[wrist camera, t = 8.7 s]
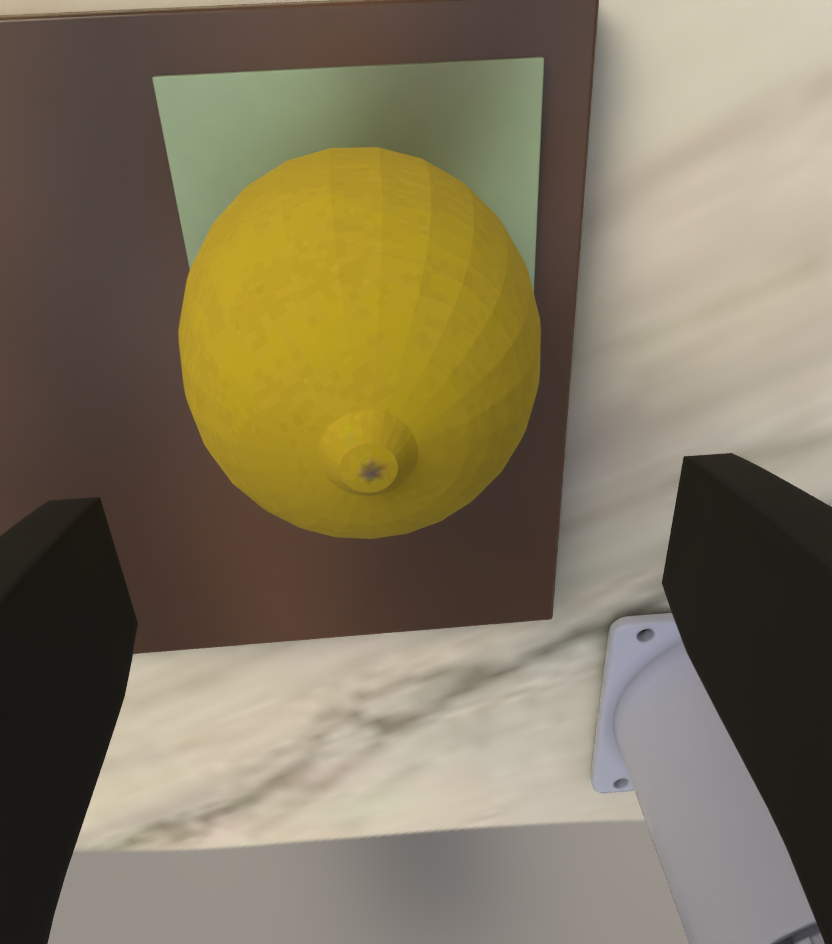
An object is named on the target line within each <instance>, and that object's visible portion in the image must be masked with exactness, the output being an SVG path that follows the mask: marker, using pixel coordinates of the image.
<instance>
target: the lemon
mask: <svg viewBox="0 0 832 944" xmlns="http://www.w3.org/2000/svg"><path fill="white" fill-rule="evenodd" d="M178 334H179V349H180V358H181V367H182V376H183V385H184V390H185V396H186V399H187V402H188V405H189V407H190V410H191V412H192V415H193V418H194V420H195V423H196V425H197V428H198V430H199V433H200V435H201V438H202V440H203V443H204V445H205V446H206V448H207V449H208V451H209V452H210V454H211V455H212V456H213V458H214V459H215V461H216V462H217V463H218V465H219V466H220V467H221V469H222V470H223V471H224V473H225V474H226V475H227V477H228V478H229V479H230V481H231V482H232V483H233V484H234V485H235V486H236V487H238V488H239V489H240V490H241V491H242V492H244V493H245V494H246V495H247V496H248V497H250V498H251V499H252V500H253V501H255V502H256V503H257V504H258V505H259V506H261V507H262V508H263V509H265V510H266V511H268V512H269V513H271V514H273V515H275V516H277V517H279V518H281V519H283V520H285V521H287V522H289V523H291V524H293V525H295V526H297V527H299V528H302V529H305V530H309V531H313V532H317V533H321V534H325V535H328V536H332V537H340V538H361V539H375V538H382V537H388V536H395V535H402V534H408V533H410V532H413V531H416V530H418V529H421V528H424V527H427V526H429V525H432V524H435V523H438V522H440V521H442V520H443V519H445V518H447V517H448V516H450V515H451V514H453V513H454V512H456V511H458V510H459V509H461V508H462V507H464V506H465V505H467V504H469V503H470V502H471V501H472V500H474V499H475V498H476V497H477V496H478V495H479V494H480V493H481V492H482V491H483V490H484V489H485V488H486V487H487V486H488V485H489V484H490V483H491V482H492V481H493V480H494V479H495V478H496V477H497V476H498V475H499V474H500V473H501V472H502V470H503V469H504V467H505V466H506V464H507V462H508V461H509V459H510V457H511V456H512V454H513V452H514V451H515V449H516V447H517V446H518V444H519V442H520V441H521V439H522V437H523V435H524V433H525V431H526V428H527V425H528V421H529V418H530V414H531V411H532V408H533V404H534V401H535V397H536V394H537V390H538V385H539V377H540V343H541V326H540V317H539V313H538V309H537V305H536V301H535V297H534V293H533V289H532V285H531V281H530V277H529V273H528V269H527V266H526V264H525V262H524V260H523V258H522V256H521V254H520V253H519V251H518V249H517V247H516V246H515V244H514V242H513V241H512V239H511V237H510V235H509V234H508V232H507V230H506V228H505V227H504V225H503V223H502V222H501V220H500V219H499V218H498V216H497V215H496V214H495V213H494V212H493V211H492V210H491V209H490V208H489V207H488V206H487V205H486V204H485V203H484V202H483V201H482V200H481V199H480V198H479V197H478V196H477V195H476V194H475V193H474V192H473V191H472V190H471V189H470V188H469V187H468V186H467V185H466V184H465V183H463V182H462V181H460V180H459V179H457V178H455V177H453V176H452V175H450V174H448V173H446V172H445V171H443V170H441V169H439V168H438V167H436V166H434V165H432V164H431V163H429V162H427V161H425V160H424V159H422V158H418V157H414V156H410V155H406V154H402V153H399V152H395V151H391V150H387V149H383V148H379V147H357V148H329V149H326V150H322V151H319V152H315V153H312V154H309V155H305V156H302V157H298V158H295V159H291V160H288V161H286V162H284V163H283V164H281V165H279V166H278V167H276V168H275V169H273V170H271V171H270V172H268V173H267V174H265V175H264V176H262V177H260V178H259V179H257V180H256V181H254V182H252V183H251V184H249V185H248V186H247V187H246V188H244V189H243V191H242V192H241V193H240V194H239V195H238V196H237V197H236V198H235V199H234V201H233V202H232V203H231V204H230V205H229V206H228V207H227V208H226V210H225V211H224V212H223V213H222V214H221V215H220V216H219V217H218V218H217V220H216V221H215V222H214V223H213V225H212V226H211V228H210V230H209V232H208V234H207V236H206V238H205V240H204V242H203V244H202V246H201V248H200V250H199V252H198V254H197V256H196V258H195V260H194V262H193V264H192V266H191V268H190V271H189V274H188V277H187V282H186V287H185V293H184V299H183V305H182V311H181V317H180V323H179V330H178Z"/></svg>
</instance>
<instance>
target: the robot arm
mask: <svg viewBox="0 0 832 944" xmlns="http://www.w3.org/2000/svg"><path fill="white" fill-rule="evenodd" d="M662 585H663V588H664V591H665V594H666V597H667V600H668V603H669V606H670V609H671V611H672V613H662V614H650V615H638V616H626V617H622V618H619V619H618V620H616V621H614V623H613V624H612V625H611V626H610V629H609V634H608V642H607V649H606V657H605V665H604V673H603V680H602V688H601V696H600V704H599V711H598V719H597V727H596V735H595V742H594V750H593V758H592V766H591V774H590V780H591V784H592V787H593V789H594V790H595V791H597V792H600V793H612V792H623V791H634V790H635V793H636V796H637V799H638V801H639V804H640V807H641V810H642V813H643V815H644V818H645V821H646V824H647V826H648V829H649V832H650V835H651V838H652V841H653V843H654V846H655V849H656V852H657V854H658V857H659V860H660V863H661V866H662V869H663V871H664V874H665V877H666V880H667V883H668V885H669V888H670V891H671V894H672V896H673V899H674V902H675V905H676V908H677V911H678V913H679V916H680V919H681V922H682V925H683V928H684V930H685V933H686V936H687V939H688V942H689V944H832V507H831V506H829V505H827V504H825V503H823V502H822V501H820V500H818V499H816V498H815V497H813V496H811V495H809V494H808V493H806V492H804V491H802V490H801V489H799V488H797V487H795V486H794V485H792V484H790V483H788V482H787V481H785V480H783V479H781V478H779V477H778V476H776V475H774V474H772V473H770V472H769V471H767V470H765V469H763V468H761V467H759V466H757V465H755V464H753V463H751V462H749V461H747V460H745V459H743V458H741V457H739V456H737V455H735V454H732V453H727V454H713V455H698V456H684V458H683V464H682V470H681V475H680V481H679V487H678V493H677V498H676V504H675V510H674V516H673V522H672V527H671V533H670V539H669V545H668V550H667V556H666V562H665V568H664V574H663V579H662ZM137 626H138V621H137V618H136V615H135V611H134V608H133V605H132V601H131V598H130V595H129V591H128V588H127V585H126V581H125V578H124V575H123V571H122V568H121V565H120V562H119V558H118V555H117V552H116V548H115V545H114V542H113V538H112V535H111V532H110V528H109V525H108V522H107V518H106V515H105V512H104V508H103V505H102V502H101V498H100V497H92V498H77V499H63V500H49V501H48V502H46V503H45V504H43V505H42V506H40V507H38V508H37V509H35V510H34V511H33V512H31V513H30V514H29V515H27V516H26V517H24V518H23V519H22V520H20V521H19V522H18V523H16V524H15V525H14V526H13V527H11V528H10V529H9V530H7V531H6V532H5V533H4V534H2V535H1V536H0V944H47V943H48V939H49V934H50V930H51V926H52V921H53V917H54V913H55V909H56V906H57V903H58V899H59V896H60V892H61V889H62V885H63V882H64V879H65V875H66V872H67V869H68V866H69V863H70V860H71V857H72V854H73V851H74V848H75V845H76V842H77V839H78V836H79V833H80V830H81V827H82V824H83V821H84V818H85V815H86V812H87V809H88V806H89V803H90V800H91V797H92V794H93V791H94V788H95V785H96V782H97V779H98V776H99V773H100V770H101V767H102V764H103V762H104V759H105V756H106V752H107V749H108V746H109V743H110V740H111V737H112V734H113V731H114V728H115V725H116V722H117V719H118V716H119V713H120V709H121V706H122V703H123V700H124V697H125V692H126V687H127V682H128V677H129V672H130V667H131V662H132V656H133V650H134V644H135V638H136V632H137ZM644 629H647V630H646V631H645V632H641V633H639V632H640V631H642V630H644Z"/></svg>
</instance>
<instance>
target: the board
mask: <svg viewBox="0 0 832 944" xmlns="http://www.w3.org/2000/svg"><path fill="white" fill-rule="evenodd" d="M598 7H599V0H328V1H306V2H285V3H263V4H241V5H219V6H198V7H176V8H154V9H132V10H111V11H89V12H67V13H46V14H24V15H2V16H0V536H1V535H2V534H4V533H5V532H6V531H7V530H9V529H10V528H11V527H13V526H14V525H15V524H16V523H18V522H19V521H20V520H22V519H23V518H24V517H26V516H27V515H29V514H30V513H31V512H33V511H34V510H35V509H37V508H38V507H40V506H42V505H43V504H45V503H46V502H48V501H49V500H63V499H77V498H92V497H100V498H101V502H102V505H103V508H104V512H105V515H106V518H107V522H108V525H109V528H110V532H111V535H112V538H113V542H114V545H115V548H116V552H117V555H118V558H119V562H120V565H121V568H122V571H123V575H124V578H125V581H126V585H127V588H128V591H129V595H130V598H131V601H132V605H133V608H134V611H135V615H136V618H137V621H138V626H137V632H136V638H135V644H134V650H133V654H139V653H151V652H163V651H175V650H187V649H199V648H211V647H224V646H236V645H248V644H260V643H272V642H284V641H296V640H308V639H320V638H332V637H344V636H356V635H368V634H380V633H392V632H404V631H416V630H428V629H440V628H452V627H465V626H477V625H489V624H501V623H513V622H525V621H537V620H549V619H552V616H553V604H554V591H555V577H556V564H557V551H558V538H559V524H560V511H561V498H562V485H563V471H564V458H565V445H566V431H567V418H568V405H569V392H570V378H571V365H572V352H573V338H574V325H575V312H576V299H577V285H578V272H579V259H580V246H581V232H582V219H583V206H584V192H585V179H586V166H587V153H588V139H589V126H590V113H591V100H592V86H593V73H594V60H595V46H596V33H597V20H598ZM357 147H379V148H383V149H387V150H391V151H395V152H399V153H402V154H406V155H410V156H414V157H418V158H422V159H424V160H425V161H427V162H429V163H431V164H432V165H434V166H436V167H438V168H439V169H441V170H443V171H445V172H446V173H448V174H450V175H452V176H453V177H455V178H457V179H459V180H460V181H462V182H463V183H465V184H466V185H467V186H468V187H469V188H470V189H471V190H472V191H473V192H474V193H475V194H476V195H477V196H478V197H479V198H480V199H481V200H482V201H483V202H484V203H485V204H486V205H487V206H488V207H489V208H490V209H491V210H492V211H493V212H494V213H495V214H496V215H497V216H498V218H499V219H500V220H501V222H502V223H503V225H504V227H505V228H506V230H507V232H508V234H509V235H510V237H511V239H512V241H513V242H514V244H515V246H516V247H517V249H518V251H519V253H520V254H521V256H522V258H523V260H524V262H525V264H526V266H527V269H528V273H529V277H530V281H531V285H532V289H533V293H534V297H535V301H536V305H537V309H538V313H539V317H540V326H541V343H540V377H539V385H538V390H537V394H536V397H535V401H534V404H533V408H532V411H531V414H530V418H529V421H528V425H527V428H526V431H525V433H524V435H523V437H522V439H521V441H520V442H519V444H518V446H517V447H516V449H515V451H514V452H513V454H512V456H511V457H510V459H509V461H508V462H507V464H506V466H505V467H504V469H503V470H502V472H501V473H500V474H499V475H498V476H497V477H496V478H495V479H494V480H493V481H492V482H491V483H490V484H489V485H488V486H487V487H486V488H485V489H484V490H483V491H482V492H481V493H480V494H479V495H478V496H477V497H476V498H475V499H474V500H472V501H471V502H470V503H469V504H467V505H465V506H464V507H462V508H461V509H459V510H458V511H456V512H454V513H453V514H451V515H450V516H448V517H447V518H445V519H443V520H442V521H440V522H438V523H435V524H432V525H429V526H427V527H424V528H421V529H418V530H416V531H413V532H410V533H408V534H402V535H395V536H388V537H382V538H375V539H361V538H340V537H332V536H328V535H325V534H321V533H317V532H313V531H309V530H305V529H302V528H299V527H297V526H295V525H293V524H291V523H289V522H287V521H285V520H283V519H281V518H279V517H277V516H275V515H273V514H271V513H269V512H268V511H266V510H265V509H263V508H262V507H261V506H259V505H258V504H257V503H256V502H255V501H253V500H252V499H251V498H250V497H248V496H247V495H246V494H245V493H244V492H242V491H241V490H240V489H239V488H238V487H236V486H235V485H234V484H233V483H232V482H231V481H230V479H229V478H228V477H227V475H226V474H225V473H224V471H223V470H222V469H221V467H220V466H219V465H218V463H217V462H216V461H215V459H214V458H213V456H212V455H211V454H210V452H209V451H208V449H207V448H206V446H205V445H204V443H203V440H202V438H201V435H200V433H199V430H198V428H197V425H196V423H195V420H194V418H193V415H192V412H191V410H190V407H189V405H188V402H187V399H186V396H185V390H184V385H183V376H182V367H181V358H180V349H179V334H178V330H179V323H180V317H181V311H182V305H183V299H184V293H185V287H186V282H187V277H188V274H189V271H190V268H191V266H192V264H193V262H194V260H195V258H196V256H197V254H198V252H199V250H200V248H201V246H202V244H203V242H204V240H205V238H206V236H207V234H208V232H209V230H210V228H211V226H212V225H213V223H214V222H215V221H216V220H217V218H218V217H219V216H220V215H221V214H222V213H223V212H224V211H225V210H226V208H227V207H228V206H229V205H230V204H231V203H232V202H233V201H234V199H235V198H236V197H237V196H238V195H239V194H240V193H241V192H242V191H243V189H244V188H246V187H247V186H248V185H249V184H251V183H252V182H254V181H256V180H257V179H259V178H260V177H262V176H264V175H265V174H267V173H268V172H270V171H271V170H273V169H275V168H276V167H278V166H279V165H281V164H283V163H284V162H286V161H288V160H291V159H295V158H298V157H302V156H305V155H309V154H312V153H315V152H319V151H322V150H326V149H329V148H357Z"/></svg>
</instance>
